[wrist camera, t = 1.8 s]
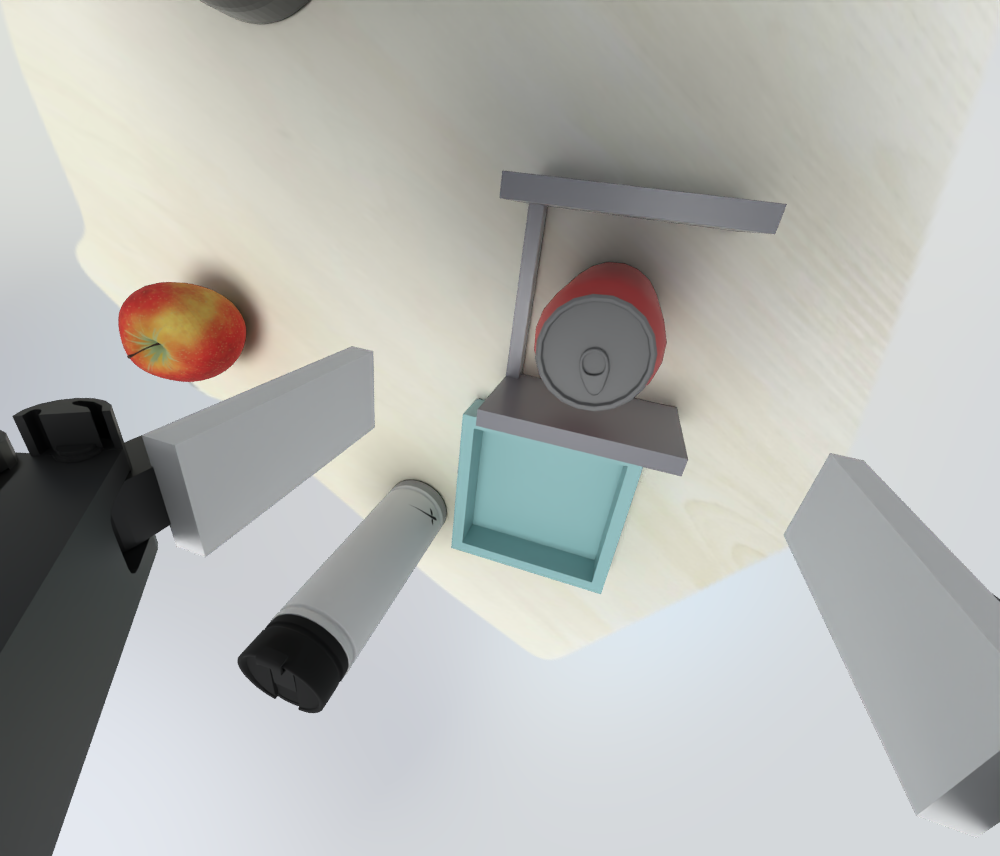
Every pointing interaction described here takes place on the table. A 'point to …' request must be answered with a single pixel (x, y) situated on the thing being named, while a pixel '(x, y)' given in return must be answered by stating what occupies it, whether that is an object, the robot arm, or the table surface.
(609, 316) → the beer can
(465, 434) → the tray
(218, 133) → the table surface
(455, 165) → the table surface
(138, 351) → the apple
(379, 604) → the travel mug
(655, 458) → the bay
